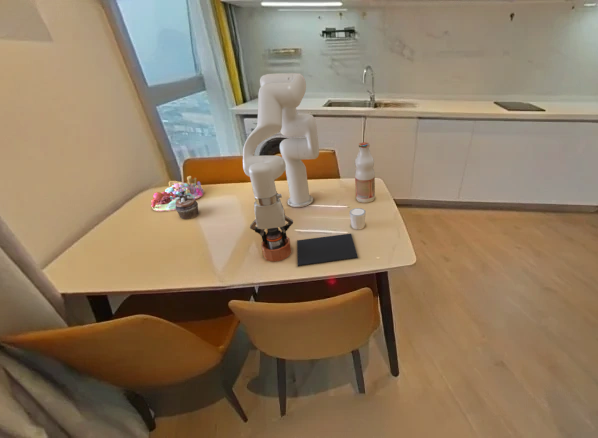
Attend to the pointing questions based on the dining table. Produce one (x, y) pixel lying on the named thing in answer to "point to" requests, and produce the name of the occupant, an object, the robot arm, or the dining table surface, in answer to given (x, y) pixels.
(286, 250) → the holder
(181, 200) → the cupcake
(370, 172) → the fruit juice
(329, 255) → the mat
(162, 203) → the candy platter
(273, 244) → the supplement bottle
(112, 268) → the dining table surface
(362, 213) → the white cup
